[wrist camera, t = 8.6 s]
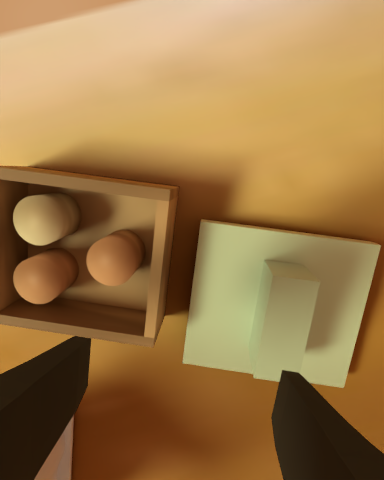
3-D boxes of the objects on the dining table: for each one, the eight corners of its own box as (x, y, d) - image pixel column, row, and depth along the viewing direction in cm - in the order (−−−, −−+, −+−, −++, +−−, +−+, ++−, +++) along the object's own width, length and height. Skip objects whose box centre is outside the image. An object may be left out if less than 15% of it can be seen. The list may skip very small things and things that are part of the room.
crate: (164, 316, 22) (153, 347, 18) (25, 295, 22) (-15, 321, 18) (179, 186, 20) (170, 189, 16) (26, 166, 20) (-19, 165, 16)
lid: (333, 370, 22) (365, 424, 17) (184, 348, 23) (176, 394, 18) (366, 239, 20) (412, 259, 15) (202, 217, 20) (198, 230, 16)
